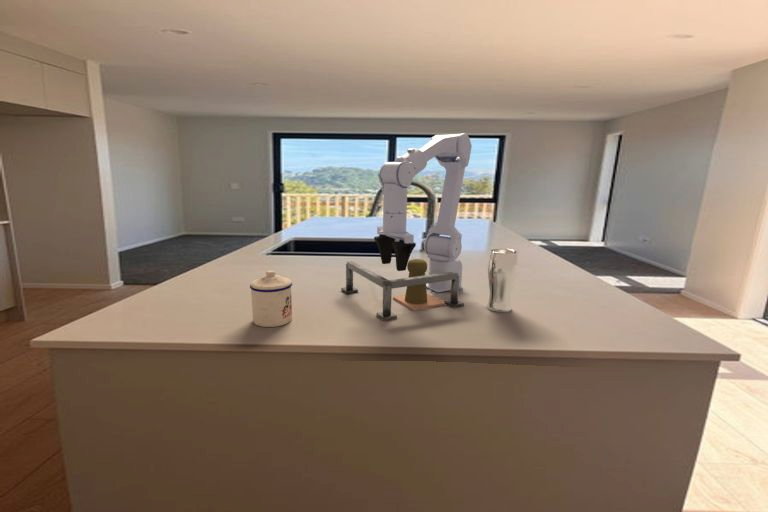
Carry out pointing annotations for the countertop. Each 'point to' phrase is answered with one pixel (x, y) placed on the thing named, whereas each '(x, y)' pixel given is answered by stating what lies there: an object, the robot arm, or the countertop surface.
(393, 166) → the robot arm
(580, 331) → the countertop surface
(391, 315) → the bent rail
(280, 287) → the teacup with lid
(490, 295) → the beer glass
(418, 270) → the cork
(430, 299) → the mat
